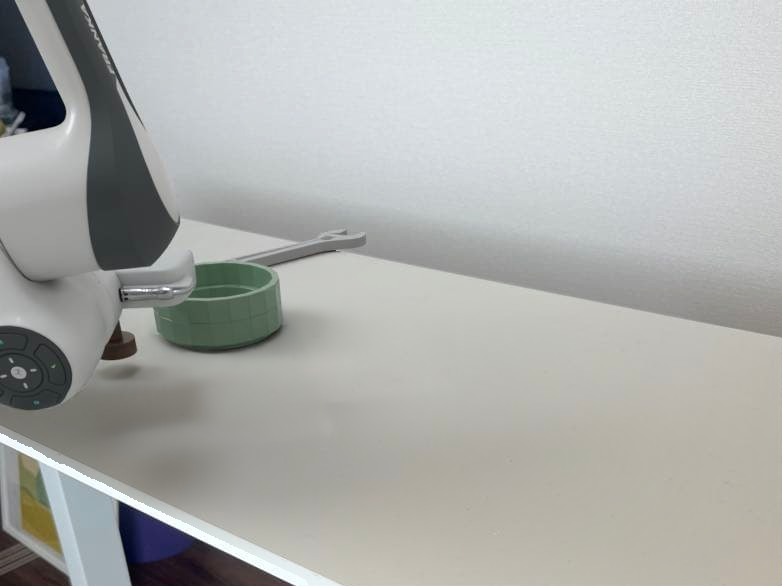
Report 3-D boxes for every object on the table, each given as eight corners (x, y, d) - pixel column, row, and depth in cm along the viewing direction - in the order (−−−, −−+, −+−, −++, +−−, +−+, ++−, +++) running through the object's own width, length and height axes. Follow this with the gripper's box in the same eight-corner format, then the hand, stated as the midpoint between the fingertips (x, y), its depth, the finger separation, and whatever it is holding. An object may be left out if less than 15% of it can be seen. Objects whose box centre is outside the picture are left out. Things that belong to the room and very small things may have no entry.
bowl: (157, 358, 90) (147, 305, 87) (159, 314, 102) (150, 265, 99) (289, 346, 93) (284, 294, 90) (276, 304, 105) (272, 257, 101)
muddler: (92, 362, 84) (53, 190, 75) (95, 346, 88) (58, 181, 78) (136, 358, 85) (103, 188, 76) (138, 343, 89) (106, 179, 79)
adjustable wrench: (226, 277, 115) (225, 264, 114) (206, 267, 119) (204, 254, 118) (371, 245, 127) (371, 233, 126) (348, 237, 131) (348, 225, 130)
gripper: (185, 257, 69) (198, 217, 81) (-69, 265, 67) (-18, 223, 79) (195, 329, 73) (207, 281, 84) (-45, 339, 71) (0, 288, 82)
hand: (97, 253), depth 81 cm, fingers closed on muddler, 2 cm apart
